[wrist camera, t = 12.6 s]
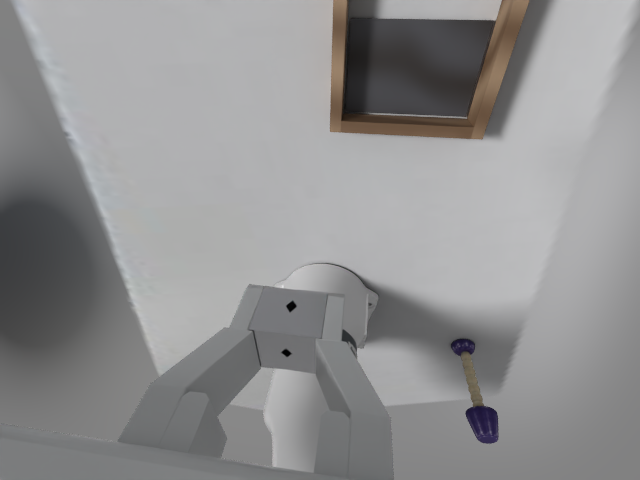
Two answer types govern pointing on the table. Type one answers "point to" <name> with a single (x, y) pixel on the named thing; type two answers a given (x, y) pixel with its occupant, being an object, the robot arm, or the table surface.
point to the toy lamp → (476, 397)
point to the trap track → (420, 72)
